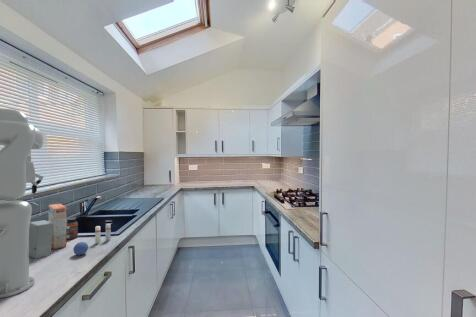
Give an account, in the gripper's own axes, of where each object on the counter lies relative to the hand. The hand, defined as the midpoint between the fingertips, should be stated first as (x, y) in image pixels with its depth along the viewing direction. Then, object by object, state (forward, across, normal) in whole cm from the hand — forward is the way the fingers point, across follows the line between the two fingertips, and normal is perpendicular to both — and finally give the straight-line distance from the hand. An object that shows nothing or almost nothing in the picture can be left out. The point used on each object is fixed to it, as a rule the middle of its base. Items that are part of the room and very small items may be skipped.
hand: (21, 194), depth 117 cm
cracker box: (+29, +14, -2) cm, 32 cm away
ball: (+26, +17, -25) cm, 40 cm away
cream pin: (+28, +28, -16) cm, 43 cm away
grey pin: (+28, +34, -16) cm, 47 cm away
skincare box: (+29, +5, -11) cm, 31 cm away
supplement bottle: (+28, +23, +4) cm, 37 cm away
